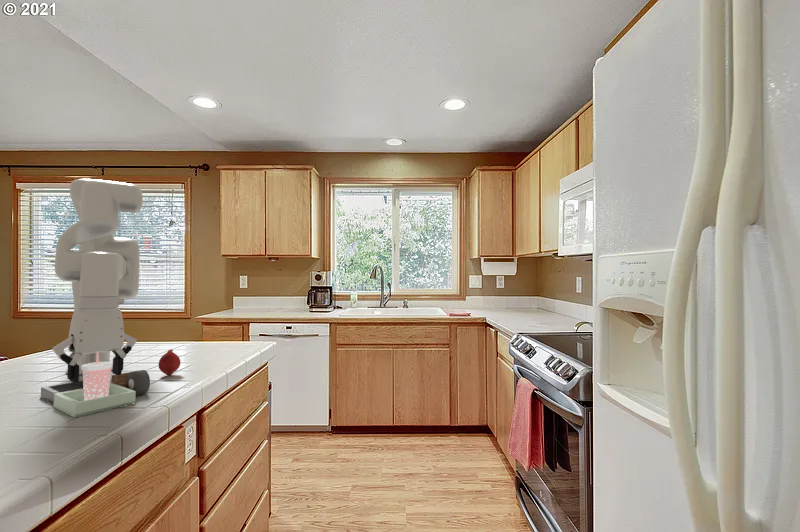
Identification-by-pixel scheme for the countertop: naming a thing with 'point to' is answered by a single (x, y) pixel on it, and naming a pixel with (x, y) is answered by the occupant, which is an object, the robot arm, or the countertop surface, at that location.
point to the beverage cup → (96, 379)
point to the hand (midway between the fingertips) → (96, 377)
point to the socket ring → (59, 389)
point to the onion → (169, 363)
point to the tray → (93, 401)
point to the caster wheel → (138, 381)
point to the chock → (120, 379)
